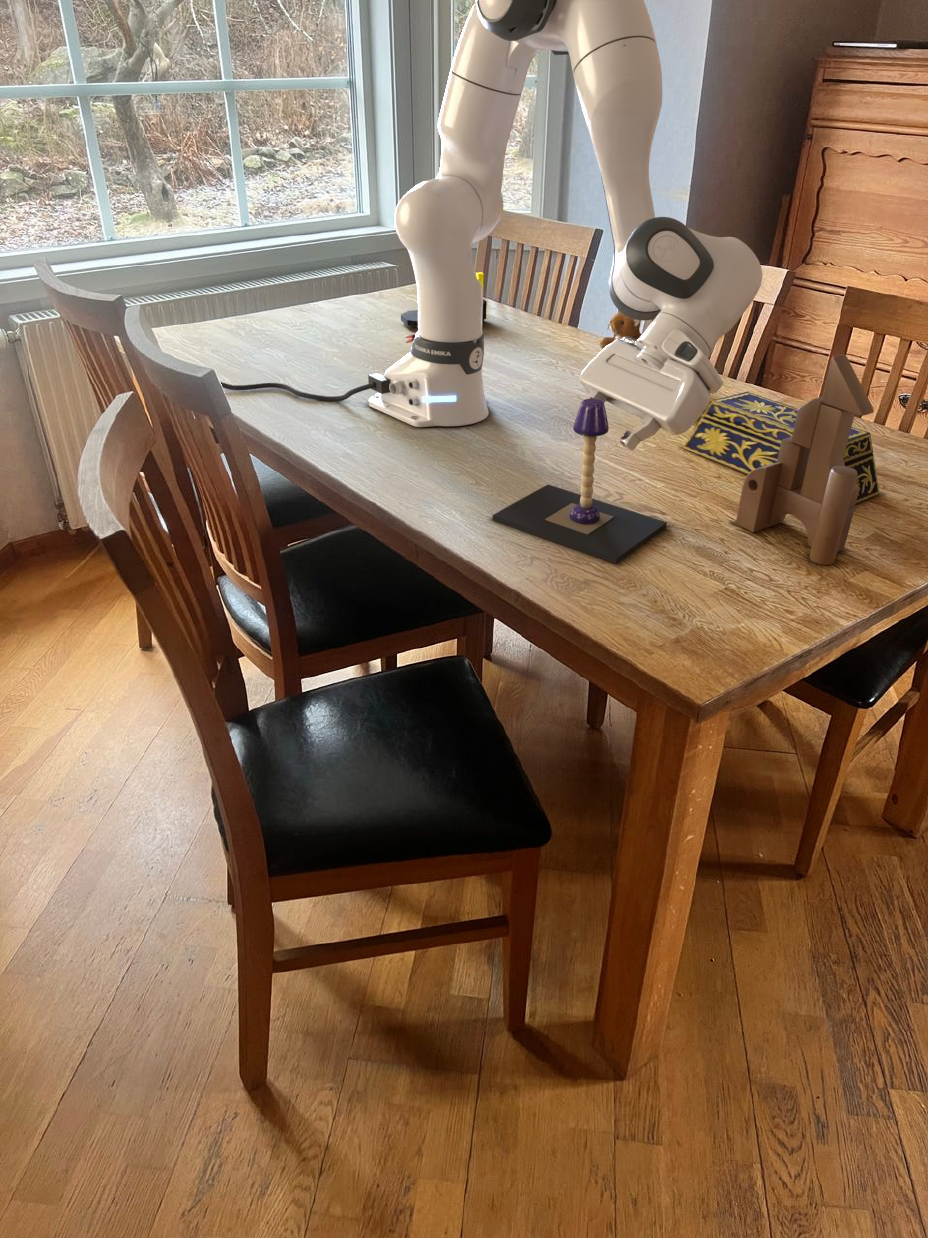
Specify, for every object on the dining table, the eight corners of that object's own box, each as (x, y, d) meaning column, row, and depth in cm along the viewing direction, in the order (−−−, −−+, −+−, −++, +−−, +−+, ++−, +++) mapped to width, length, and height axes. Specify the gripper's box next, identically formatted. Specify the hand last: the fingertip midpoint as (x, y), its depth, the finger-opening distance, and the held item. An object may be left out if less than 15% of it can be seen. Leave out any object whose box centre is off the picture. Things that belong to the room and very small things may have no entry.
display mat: (492, 520, 130) (492, 514, 129) (547, 488, 139) (547, 483, 139) (615, 564, 120) (616, 558, 119) (666, 527, 129) (667, 521, 129)
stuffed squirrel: (595, 367, 192) (601, 302, 185) (662, 369, 192) (671, 304, 185) (599, 382, 183) (606, 314, 176) (670, 384, 183) (680, 317, 176)
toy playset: (494, 328, 216) (496, 279, 211) (413, 334, 211) (412, 283, 205) (473, 313, 228) (474, 266, 222) (395, 318, 222) (394, 270, 216)
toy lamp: (561, 520, 128) (571, 403, 119) (571, 507, 132) (582, 393, 123) (594, 527, 127) (606, 409, 118) (604, 513, 130) (616, 398, 121)
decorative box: (839, 512, 134) (854, 454, 130) (682, 448, 154) (690, 395, 150) (880, 494, 140) (896, 438, 135) (724, 435, 160) (733, 384, 155)
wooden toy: (732, 523, 130) (766, 346, 117) (763, 512, 134) (800, 339, 120) (823, 568, 120) (873, 378, 106) (855, 555, 123) (907, 369, 110)
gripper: (610, 319, 128) (547, 397, 129) (712, 357, 113) (640, 446, 114) (631, 347, 133) (570, 423, 134) (732, 388, 118) (663, 473, 119)
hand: (603, 434), depth 124 cm, fingers open, 8 cm apart
